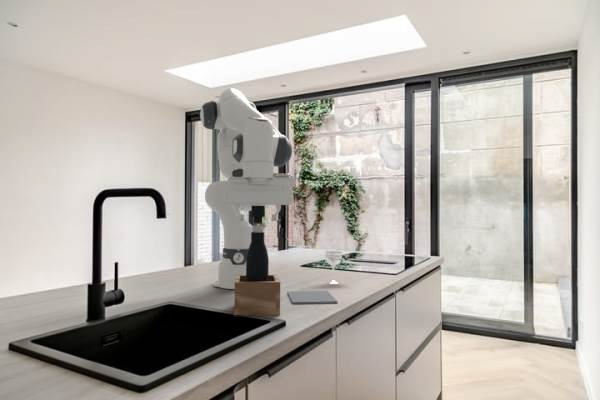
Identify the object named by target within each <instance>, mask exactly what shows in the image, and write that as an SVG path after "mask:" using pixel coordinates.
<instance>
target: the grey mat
mask: <svg viewBox="0 0 600 400" xmlns="http://www.w3.org/2000/svg"><path fill="white" fill-rule="evenodd" d="M287 295H288V298H289V299H290V301H291V302H290V303H291V304H292V305H311V304H312V305H315V304H317V305H318V304H319V305H321V304H324V305H325V304H338V300H337V299H336V298H335V297H334V296H333V295H332V294H331V293H330V291H329V290H307V291H306V290H305V291H303V290H302V291H301V290H299V291H298V290H297V291H295V290H294V291H291V290H290V291H287Z"/></svg>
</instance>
